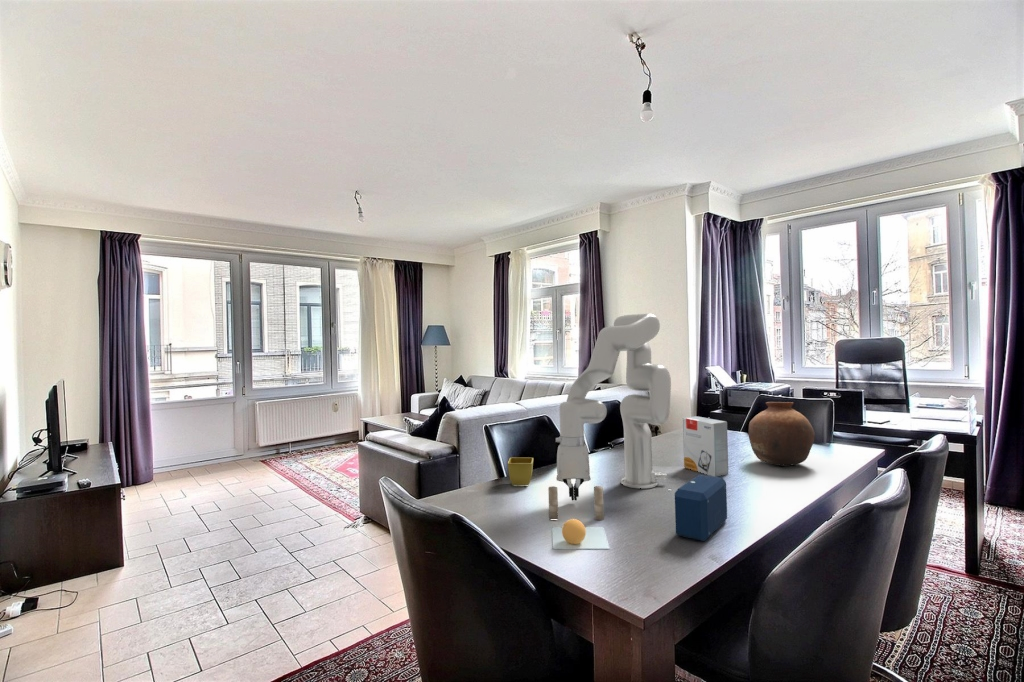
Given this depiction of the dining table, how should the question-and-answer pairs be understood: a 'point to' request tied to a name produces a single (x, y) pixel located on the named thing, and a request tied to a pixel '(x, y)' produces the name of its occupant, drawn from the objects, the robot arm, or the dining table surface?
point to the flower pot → (520, 470)
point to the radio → (700, 507)
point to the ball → (573, 531)
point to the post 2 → (598, 503)
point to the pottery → (781, 435)
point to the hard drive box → (705, 445)
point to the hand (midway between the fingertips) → (574, 499)
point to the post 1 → (553, 502)
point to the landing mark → (592, 540)
